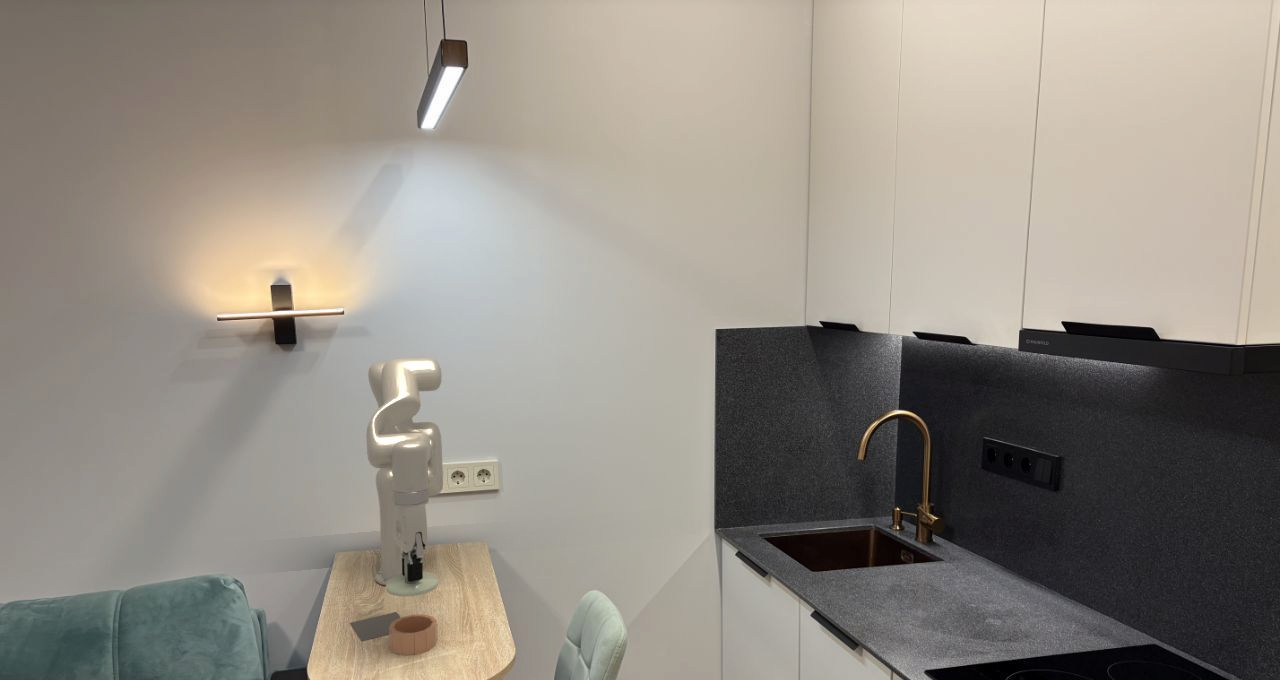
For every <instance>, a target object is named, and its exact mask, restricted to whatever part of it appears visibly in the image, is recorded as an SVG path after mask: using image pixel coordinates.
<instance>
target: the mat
mask: <svg viewBox="0 0 1280 680" xmlns="http://www.w3.org/2000/svg"><path fill="white" fill-rule="evenodd" d="M401 617H402V616H400V614H399V613H398V612H397V611H394V612H389V613H384V614H381V615H377V616H372V617H367V618H364V619H360V620H355V621H352V622H349V624H350V626H351V627H352V629H353V630H354V632H355V634H356V636H357V637H358V638H359V640H360V641H361V642H365V641H369V640H373V639H376V638H377V639H378V638H381V637H385V636H389V627H390V625H391V623H392V622H393V621H395V620H397V619H399V618H401Z"/></svg>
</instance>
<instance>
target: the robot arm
mask: <svg viewBox="0 0 1280 680" xmlns="http://www.w3.org/2000/svg"><path fill="white" fill-rule="evenodd" d="M367 373H368V375H367V376H368V382H369V386H370V389H371V391H372V394H373V396H374V398H375V400H376V404H377V406H378V409H377V410H376V411H375V412H374V414H373V415H372V416H371V417H370V419H369V422H368V424H367V427H366V433H365V435H366V455H367V459H368V462H369V464H370V465H371V466H372V467H374V468H375V469H378V471H377V473H376V475H375V485H376V491H377V496H378V504H379V521H380V522H379V524H380V527H379V528H380V563H381V564H380V565H381V566H380V567H381V569H380V570H378V572H377V573H376V574H375V582H376V583H377V584H379V585H381V586H386V583H387V581H388V580H389V579H390V578H392V577H394V576H396V575H399V574H402V575H403V576H405V568H404V555H405V554H406V553H408V557H409V564H407V577H408V581H409V582H412V581H417V580H421V579H422V578H423V572H425V571H424V569H423V566H424V565H423V560H424V557H425V552H424V550H426V549H427V548H428V523H427V522H428V520H427V509H426V505H427V504H428V503H429V497H434V496H437V495H439V494H441V492H442V490H443V486H444V469H443V451H442V450H443V448H442V445H443V444H442V443H443V442H442V434H441V431H440V428H439V426H438V424H436V423H434V422H432V421H422V422H414V421H413V418H414V417H415V416H416V415H417V414H418V412H420V409H421V403H422V402H421V397H420V392H433V391H434V392H435V391H437V390H438V389H439V388H440V386H441V384H442V376H443V375H442V369H441V366H440V363H439V362H438V361H437V359H436V358H433V357H402V358H394V359H391V360H384V361H380V362H375V363H373V364H371V365H370V367H369V369H368V372H367ZM415 552H416V554H414V555H413V557H412V553H415Z"/></svg>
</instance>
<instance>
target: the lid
mask: <svg viewBox="0 0 1280 680" xmlns="http://www.w3.org/2000/svg"><path fill="white" fill-rule="evenodd" d="M414 554H416V552H415V553H412V557H413V555H414ZM407 564H409V557H408V553H406V554H405V555H404V568H405V576H403V575H402V574H399V575H396V576H394V577H392V578H390V579H389V580H388V581H387V583H386V585H385V590H386V592H387V593H388V594H390V595H392V596H397V597H417V596H420V595H424V594H425V595H426V594H427V593H430V592H432V591H434V590H435V589H436V588H437V587H438V586H439V584H438V583H439V577H438V576H437V575H436V574H435V573H433V572H430V571H429V572H428V571H424V572H423V578H422V579H421V580H417V581H412V582H409V581H408V577H407Z"/></svg>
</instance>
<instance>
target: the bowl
mask: <svg viewBox="0 0 1280 680" xmlns="http://www.w3.org/2000/svg"><path fill="white" fill-rule="evenodd" d="M400 617H401V618H399V619H397V620H395V621H393V622H392V623H391V625H390V627H389V635H388V642H389V643H388V644H389V645H388V646H389V649H390V651H391V652H392V653H394V654H396V655H401V656H416V655H420V654H423V653H427V652H428V651H430V650H432V649H434V648H435V647H436V645H437V642H438V620H437V619H436V618H435V617H434V616H432V615H428V614H423V613H422V614H409V615H405V616H400Z"/></svg>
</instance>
